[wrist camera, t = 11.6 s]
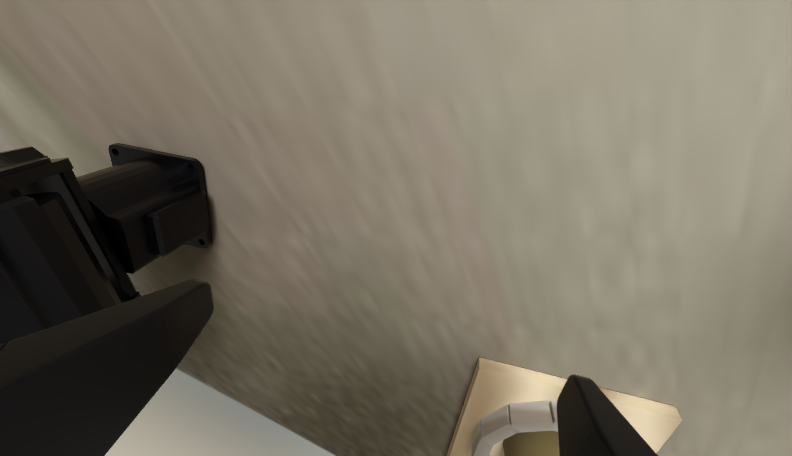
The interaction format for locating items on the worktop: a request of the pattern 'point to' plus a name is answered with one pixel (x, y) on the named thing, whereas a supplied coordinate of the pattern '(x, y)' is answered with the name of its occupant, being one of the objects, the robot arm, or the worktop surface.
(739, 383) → the worktop surface
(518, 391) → the seat
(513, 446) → the cork
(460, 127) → the worktop surface
